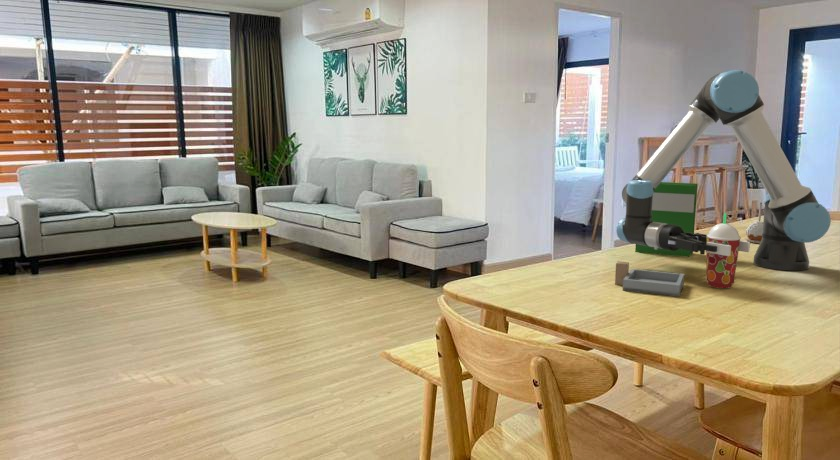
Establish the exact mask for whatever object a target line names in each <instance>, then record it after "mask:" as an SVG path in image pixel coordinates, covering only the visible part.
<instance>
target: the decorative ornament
mask: <svg viewBox="0 0 840 460" xmlns="http://www.w3.org/2000/svg"><path fill="white" fill-rule="evenodd" d="M762 206H763V202H759V208H758V211H759V212H758V219H757V220H758V221H757V220H755V221H754V222H751V223H749V224H748V226H747V228H746V229H745V235H746V236H747V237H746V238H745V241H746V242H750V243H753V244H760V242H761V240H762V232H763V221H761V218H762Z"/></svg>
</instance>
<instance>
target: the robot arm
mask: <svg viewBox="0 0 840 460" xmlns="http://www.w3.org/2000/svg"><path fill="white" fill-rule="evenodd" d="M764 107H765V103H764V102H763V99H762V98H761V96H760V87H759V83H758V81H757V80H756V78H755V77H754V76H753V75H752V74H751V73H749V72H747V71H743V70H741V69H730V70H725V71H723V72H721V73H720V72H719V73H718V74H715V75H713V76H712V77H710V78H709V79H708V80H707V81H706V82H705V83H704V85H703V86H702V88H701V89H700V91H699V92H698V94H697V95H696V96H695V98H694V99H693V100H692V101H691V103H690V104H689V105H688V111H687V113H686V114H685V115H684V117H682V119H681V120H680V121H679V123H677V125H676V126H675V127H674V129H672V130H671V132H670V133H669V135H668V136H667V137H666V138H664V141H662V143H661V144H660V145H659V146H658V148H657V149H656V150H655V151H654V152H653V154H652V155H651V156H650V157H649V158H648V159H647V161H645V163H644V164H643V166H642V167H641V168H640V169H639V170H638V172H637V173H636V174H635V175H634V176H633V178H632V179H631V180H629V181H628V182H627V184H625V185H624V187H623V188H622V191H621V197H622V200H623V202H624V203H625V217H623V218H621V219H620V220H619V221H618V223H617V226H616V230H615V231H616V232H615V233H616V236H617V238H618V239H619V240H620V241H622V242H625V243H629V244H632V245H636V244H638V245H644V246H650V247H654V249H655V250H657V249H658V248H660V249H665V250H670V251H676V250H678V249H679V248H680V249H685V250H689V251H693V252H694V253H698V252H699V255H704V256H705V253H706V252H708V253H714V254H719V255H725V256H730V254H731V246H730V245H724V244H718V243H712V242H707V237H706V235H707V234H704V233H699V232H694V234H693V233H690V232H686V233H684V232H683V229H682V228H681V227H680V226H678V225H671V224H666V223H659V222H651V218H652V201H653V194H654V192H653V191H654V190H655V189H656V187H657V186H658V185H659V184H660V183H661V182H663V181H664V180H665V178H666V177H667V176H668V175H669V174H670V172H671V171H672V170H673V169H674V168H675V167H676V165H677V164H678V163H679V162H680V160H681V159H682V158H683V157H684V156H685V155H686V154H687V152H688V151H689V150H690V149H691V148H692V146H694V145H695V143H696V142H697V140H698V139H699V138H700V137H701V136H702V135H703V133H705V131H706V130H707V129H708V128H709V127H710V126H712V125H716V124H717V122H718V121H719V120H720V121H721V124H722V125H723V126H724V127H729V128H730V129H732V131H733V133H734V135H735V137H736V139H737V140H738V142H739V144H740V146H741V147H742V150H743V152H744V153H745V155H746V157H747V159H748V160H749V162H750V164H751V166H752V167H753V170H754V171H755V172H756V175H757V177H758V179H759V180H760V182H761V184H762V185H763V186H762V187H764V190H765V192H766V193H767V194H766V196H765V201H764V211H763V213H764V214H763V221H762V222H763V232H762V240H761V242H760V243H759V245H758V246H757V249H756V251H755V253H754V256H753V264H754V265H755V266H759V267H761V268H766V269H772V270H777V271H778V270H779V271H780V270H781V271H795V272H796V271H805V270H808V269H809V268H810V259H809V256H808V252H807V251H808V250H807V247H806V244H807V243H813V242H816V241H818V240H820V239H821V238H823V237H824V236H825V235H826V234H827V232H828V231H829V229H830V227H831V222H832V220H831V219H832V218H831V215H830V212H829V211H828V209H827V208H826V207H825V206H824V205H823V204H820V203H819V201H818V200H817V198H816V196H815V194H814V192H813V190H812V189H811V188H810V187H808V186H804V185H802V184H801V181H800V180H799V178H798V176H797V174H796V172H795V171H794V169H793V167H792V165H791V163H790V161H789V160H788V158H787V156H786V154H785V152H784V151H783V148H782V147H781V145H780V143H779V142H778V141H779V140H777V138H776V136H775V135H774V133H773V131H772V129H771V126H769V124H768V121H767V119H766V117H765V116H764V114H763V109H764ZM805 243H806V244H805ZM750 248H751V242H749V241H746V240H740V245H739V252H743V253H750Z"/></svg>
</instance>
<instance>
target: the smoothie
mask: <svg viewBox="0 0 840 460" xmlns="http://www.w3.org/2000/svg"><path fill="white" fill-rule="evenodd" d="M705 235H706V237H707V242H712V243H718V244H724V245H730V246H731V254H730V256H725V255H719V254H714V253H708V252H706V251H705V253H706V258H705V259H706V261H705V262H706V264H705V265H706V269H705V271H706V273H705V274H706V279H705V281H707V285H708V286H710V287H712V288H715V289H716V288H717V289H729V288H731V287H732V286H733V284H734V283H735V278H736V277H735V276H736V270H737V264H738V257H739V252H740V251H739V245H740V241H741V239H742V238H741V236H740V234H739V231H738V230H737V229H736V227H734V225H732V224H730V223H727V213H726V212H723V221H722V223H721V222H720V223H717V224H715V225H713V227H711V228H710V230H709V231H708V233H707V234H705Z"/></svg>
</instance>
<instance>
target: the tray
mask: <svg viewBox="0 0 840 460" xmlns="http://www.w3.org/2000/svg"><path fill="white" fill-rule="evenodd" d="M629 268H630V262H628V261H617V262H615V276H614V277H615V278H614V281H615V282H614V285H617V286H622V291H624V292H625V291H627V292H634V293H644V294H651V295H652V294H653V295H654V294H655V295H660V296H668V297H677V298H678V297H679V296H680V294H681V292H682V290H683V287H684V283H685V273H680V272H679V273H678V272H667V271H666V272H665V271H656V270H648V269H636V268H631V269H630V270H629Z"/></svg>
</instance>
